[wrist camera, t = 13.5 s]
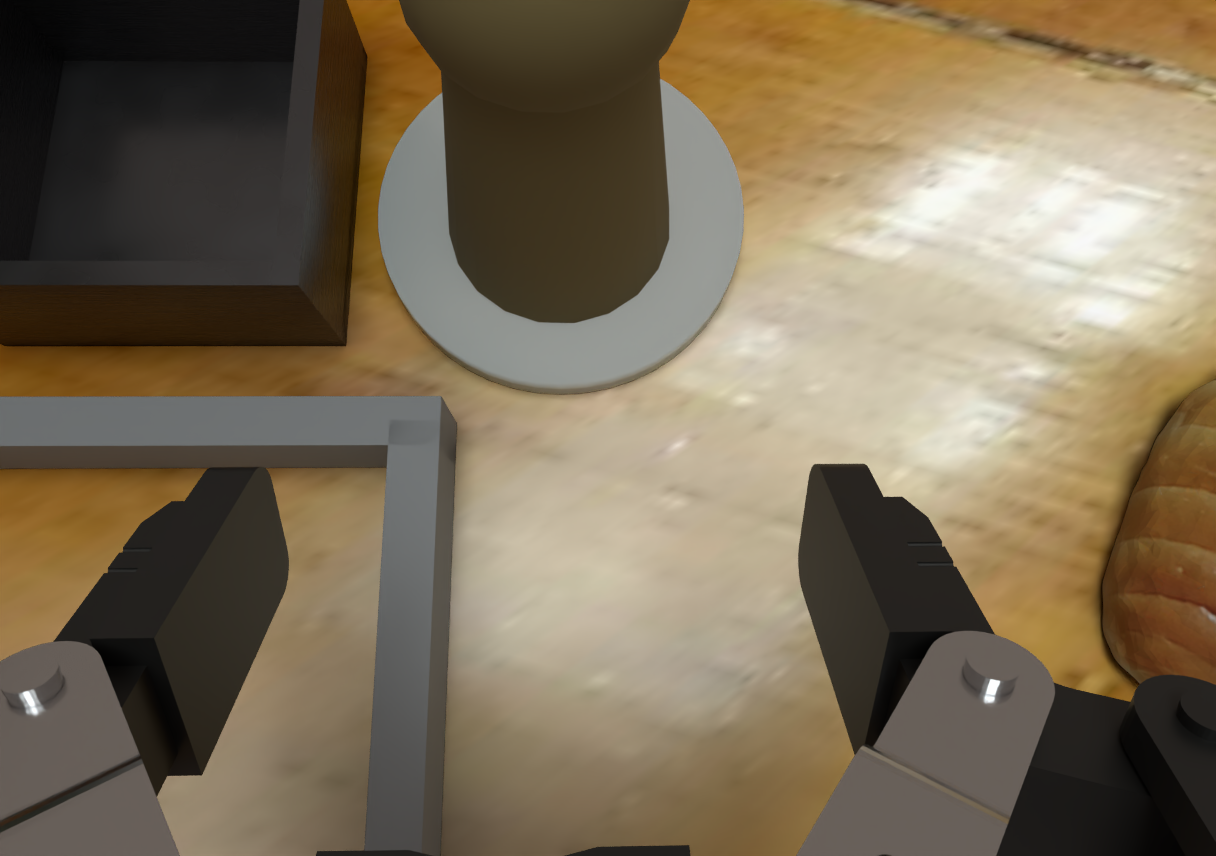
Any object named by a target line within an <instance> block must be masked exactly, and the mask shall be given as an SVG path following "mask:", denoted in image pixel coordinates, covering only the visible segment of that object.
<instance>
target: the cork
mask: <svg viewBox="0 0 1216 856" xmlns="http://www.w3.org/2000/svg"><path fill="white" fill-rule="evenodd" d="M399 1H400V5H401V8H402V11H403V14H404V18H405V21H406V23H407V25H408V26H409V28H410V29H411V31H412V32H413V33H414V35H415V36H416V38H417V39H418V41H419V42H420V43H421V45H422V46H423V47H424V49H425V50H426V51H427V53H428V54H429V55H430V57H431V58H432V59H433V61H434V62H435V63H436V65H437V66H438V67H439V69H440V70H441V76H442V97H443V118H444V139H445V160H446V181H447V202H448V223H449V235H450V238H451V242H452V245H453V249H454V252H455V256H456V259H457V263H458V265H459V266H460V268H461V269H462V271H463V272H464V273H465V275H466V276H467V278H468V279H469V280H470V282H471V283H472V285H473V286H474V287H475V289H476V290H477V291H478V292H479V293H481V294H482V295H483V296H485V297H486V298H488V299H489V300H490V301H492V302H493V303H494V304H496V305H497V306H499V307H500V308H501V309H503V310H504V311H506V312H509V313H512V314H515V315H518V316H521V317H524V318H527V319H530V320H533V321H536V322H549V323H577V322H580V321H584V320H587V319H591V318H595V317H598V316H602V315H605V314H609V313H610V312H612V311H614V310H615V309H617V308H618V307H620V306H621V305H623V304H624V303H626V302H627V301H629V300H631V299H632V298H634V297H635V296H637V295H638V294H639V293H640V291H641V290H642V289H643V288H644V286H645V285H646V284H647V283H648V282H649V280H650V279H651V278H652V277H653V275H654V274H655V273H656V272H657V270H658V269H659V266H660V264H661V261H662V258H663V255H664V252H665V250H666V247H667V244H668V241H669V197H668V183H667V169H666V156H665V142H664V128H663V114H662V100H661V86H660V73H659V60H660V59H661V58H662V56H663V55H664V54H665V53H666V52H667V50H668V49H669V47H670V45H671V43H672V41H673V39H674V38H675V36H676V34H677V32H678V30H679V27H680V25H681V22H682V19H683V17H684V14H685V12H686V9H687V6H688V4H689V1H690V0H399Z"/></svg>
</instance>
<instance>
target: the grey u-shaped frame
mask: <svg viewBox="0 0 1216 856" xmlns="http://www.w3.org/2000/svg"><path fill="white" fill-rule="evenodd" d="M456 432H457V423H456V421H455V419H454V417H453V416H452V414H451V412H450V411H449V409H448V407H447V405H446V404H445V402H444V400H443V398H442V397H441V396H244V397H0V469H18V468H211V467H264V468H343V467H387V472H386V489H385V506H384V524H383V541H382V558H381V575H380V592H379V609H378V626H377V643H376V660H375V677H374V695H373V712H372V729H371V746H370V763H369V780H368V797H367V814H366V831H365V848H364V851H373V850H412V851H416V852H420V853H424V854H428V855H432V856H440V851H441V825H442V799H443V773H444V746H445V720H446V694H447V668H448V641H449V615H450V589H451V563H452V537H453V510H454V484H455V458H456Z"/></svg>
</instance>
